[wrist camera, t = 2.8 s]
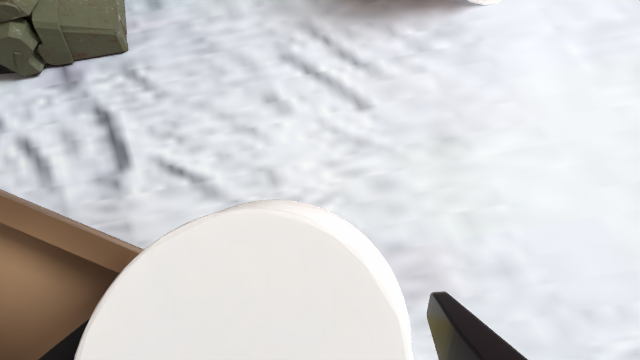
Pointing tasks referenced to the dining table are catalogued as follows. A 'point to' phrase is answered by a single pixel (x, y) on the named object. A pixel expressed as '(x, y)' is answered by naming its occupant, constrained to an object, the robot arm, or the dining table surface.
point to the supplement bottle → (254, 293)
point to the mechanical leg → (58, 32)
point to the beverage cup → (485, 1)
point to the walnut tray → (50, 275)
